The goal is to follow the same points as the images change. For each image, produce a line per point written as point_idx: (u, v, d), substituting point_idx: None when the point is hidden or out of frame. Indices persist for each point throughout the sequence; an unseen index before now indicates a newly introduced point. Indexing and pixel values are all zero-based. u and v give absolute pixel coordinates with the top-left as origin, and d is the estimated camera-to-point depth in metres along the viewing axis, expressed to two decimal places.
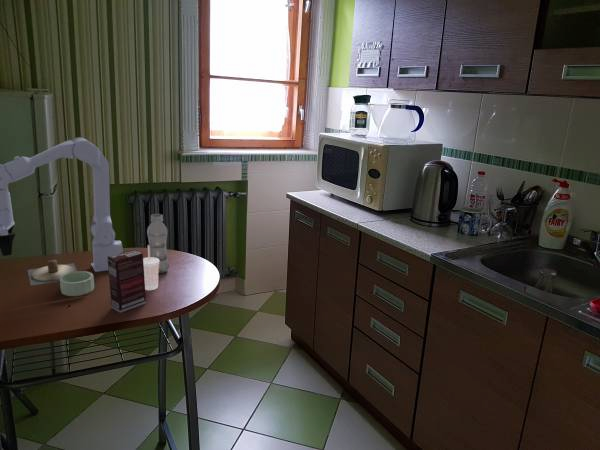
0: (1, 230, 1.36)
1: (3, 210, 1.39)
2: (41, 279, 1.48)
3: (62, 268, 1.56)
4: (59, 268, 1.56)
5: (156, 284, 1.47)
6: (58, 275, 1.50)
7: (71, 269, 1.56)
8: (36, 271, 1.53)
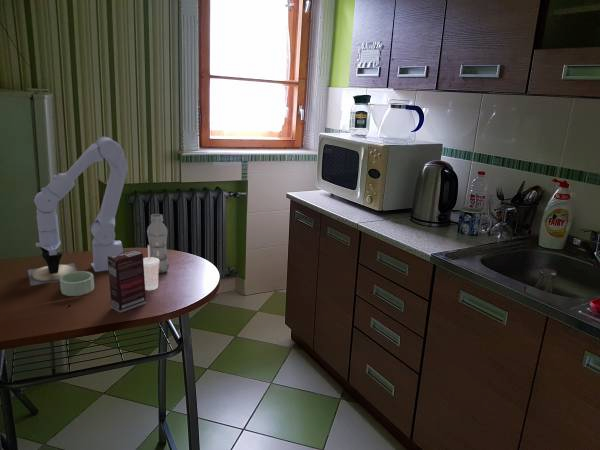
0: (50, 250, 1.44)
1: (51, 231, 1.47)
2: (41, 279, 1.48)
3: (62, 268, 1.56)
4: (59, 268, 1.56)
5: (156, 284, 1.47)
6: (58, 275, 1.50)
7: (71, 269, 1.56)
8: (36, 271, 1.53)
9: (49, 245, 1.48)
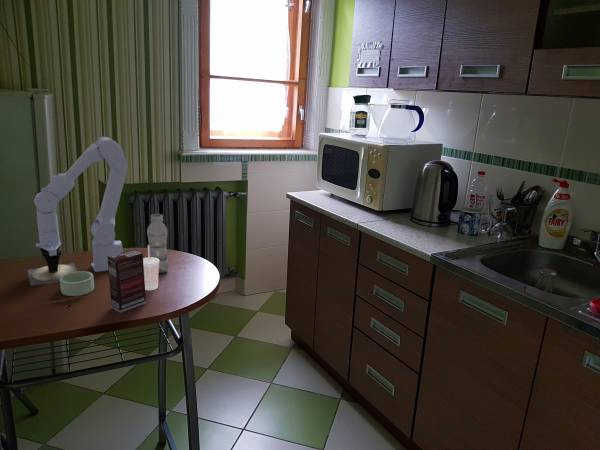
0: (50, 251, 1.44)
1: (51, 231, 1.47)
2: (41, 279, 1.48)
3: (62, 268, 1.56)
4: (59, 268, 1.56)
5: (156, 284, 1.47)
6: (58, 275, 1.50)
7: (71, 269, 1.56)
8: (36, 271, 1.53)
9: (49, 245, 1.48)
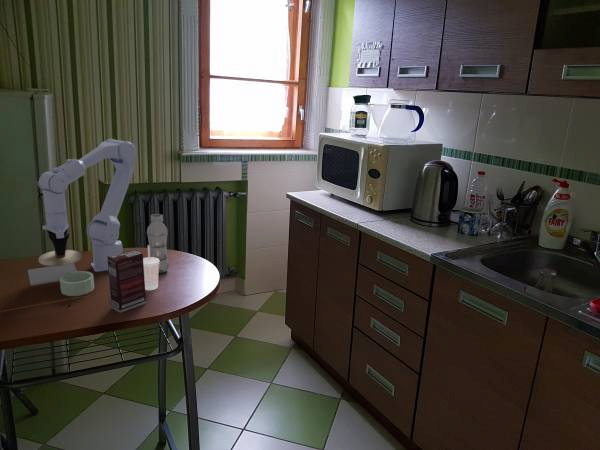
0: (58, 233, 1.38)
1: (59, 213, 1.41)
2: (47, 264, 1.41)
3: (69, 254, 1.49)
4: (66, 253, 1.49)
5: (156, 284, 1.47)
6: (65, 260, 1.44)
7: (79, 255, 1.49)
8: (43, 256, 1.46)
9: (56, 228, 1.41)
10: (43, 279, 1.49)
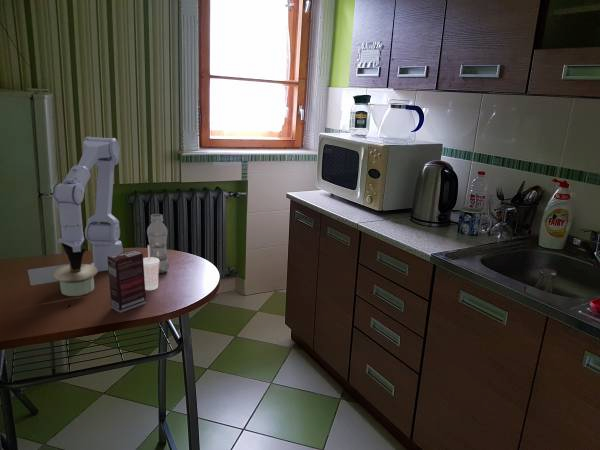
0: (74, 247, 1.32)
1: (75, 226, 1.35)
2: (62, 279, 1.36)
3: (85, 268, 1.44)
4: (82, 267, 1.44)
5: (156, 284, 1.47)
6: (80, 275, 1.38)
7: (94, 269, 1.44)
8: (57, 270, 1.41)
9: (72, 241, 1.36)
10: (43, 279, 1.49)
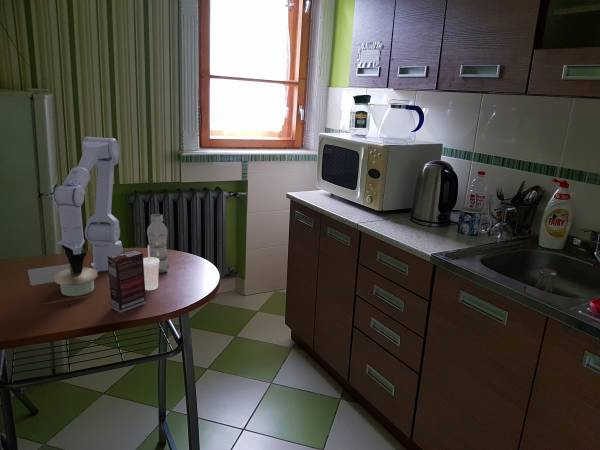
0: (75, 249, 1.33)
1: (75, 228, 1.36)
2: (63, 283, 1.36)
3: (85, 271, 1.44)
4: (82, 271, 1.44)
5: (156, 284, 1.47)
6: (81, 279, 1.39)
7: (95, 272, 1.44)
8: (58, 274, 1.41)
9: (73, 243, 1.36)
10: (43, 279, 1.49)
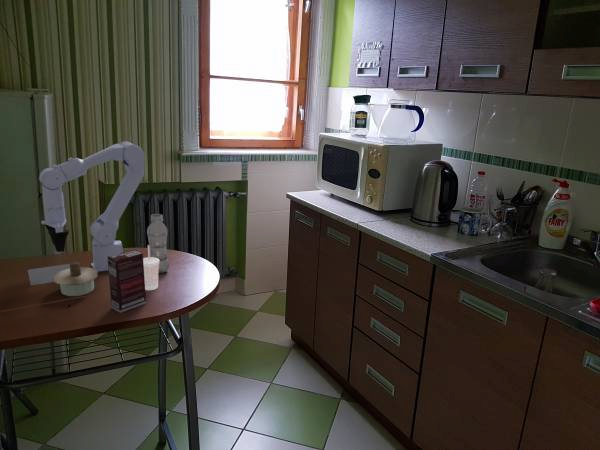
0: (57, 227, 1.43)
1: (57, 208, 1.46)
2: (63, 283, 1.36)
3: (85, 271, 1.44)
4: (82, 271, 1.44)
5: (156, 284, 1.47)
6: (81, 279, 1.39)
7: (95, 272, 1.44)
8: (58, 274, 1.41)
9: (55, 223, 1.46)
10: (43, 279, 1.49)
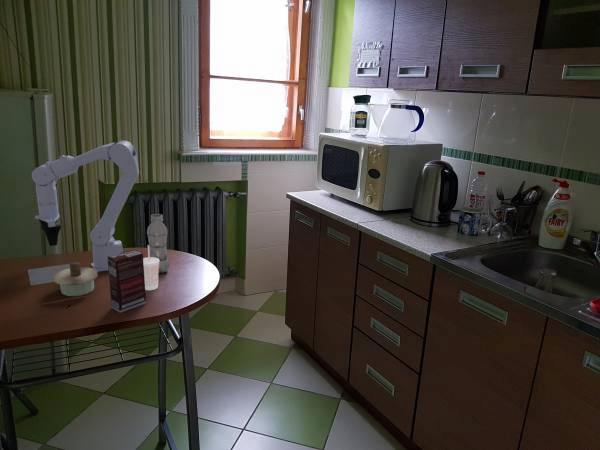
0: (49, 222, 1.48)
1: (50, 203, 1.50)
2: (63, 283, 1.36)
3: (85, 271, 1.44)
4: (82, 271, 1.44)
5: (156, 284, 1.47)
6: (81, 279, 1.39)
7: (95, 272, 1.44)
8: (58, 274, 1.41)
9: (48, 217, 1.51)
10: (43, 279, 1.49)
